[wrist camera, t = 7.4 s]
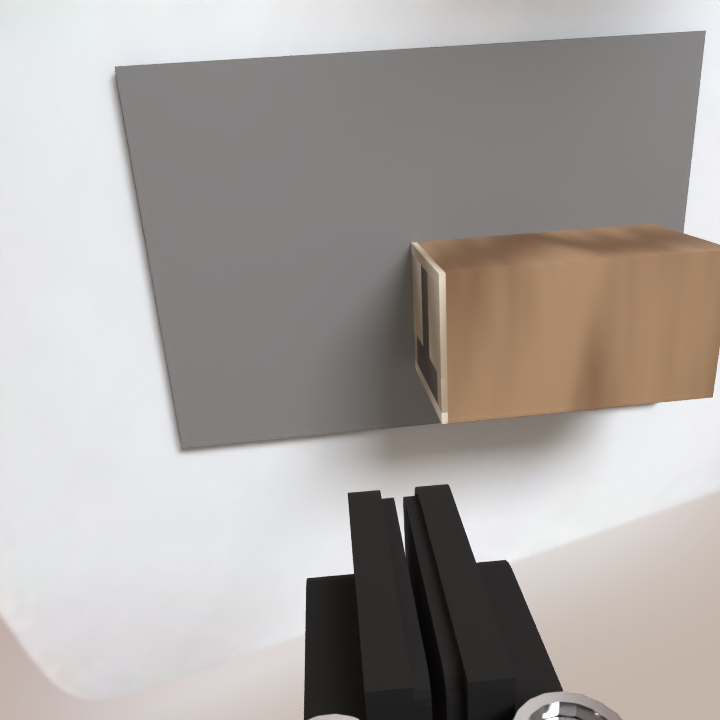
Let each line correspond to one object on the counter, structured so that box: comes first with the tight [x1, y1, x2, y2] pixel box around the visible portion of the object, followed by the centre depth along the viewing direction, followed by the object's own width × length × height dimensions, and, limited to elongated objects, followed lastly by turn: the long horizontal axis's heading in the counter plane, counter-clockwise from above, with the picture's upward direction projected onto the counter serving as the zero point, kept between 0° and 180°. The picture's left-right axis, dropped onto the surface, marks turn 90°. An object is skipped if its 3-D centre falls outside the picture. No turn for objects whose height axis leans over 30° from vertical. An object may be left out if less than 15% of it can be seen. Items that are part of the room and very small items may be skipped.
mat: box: [115, 31, 706, 448], centre depth 25 cm, size 20×14×1 cm
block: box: [411, 223, 720, 424], centre depth 23 cm, size 5×5×9 cm
